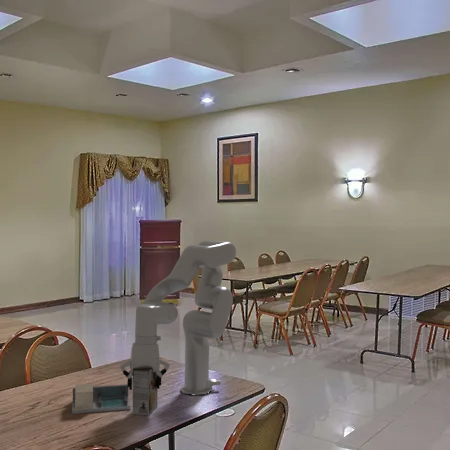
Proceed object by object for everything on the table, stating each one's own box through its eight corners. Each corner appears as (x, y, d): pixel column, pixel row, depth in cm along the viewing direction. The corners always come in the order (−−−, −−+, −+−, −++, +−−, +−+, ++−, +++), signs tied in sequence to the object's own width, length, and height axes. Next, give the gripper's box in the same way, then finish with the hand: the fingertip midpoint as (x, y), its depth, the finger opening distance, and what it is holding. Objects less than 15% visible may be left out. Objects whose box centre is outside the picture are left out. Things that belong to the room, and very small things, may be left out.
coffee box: (140, 405, 197) (141, 361, 196) (157, 406, 196) (158, 362, 195) (131, 414, 188) (132, 368, 187) (149, 416, 187) (150, 369, 186)
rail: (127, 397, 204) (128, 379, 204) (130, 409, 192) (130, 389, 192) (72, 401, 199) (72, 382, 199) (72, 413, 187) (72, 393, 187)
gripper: (168, 337, 197) (167, 384, 197) (120, 338, 192) (118, 386, 192) (171, 341, 189) (170, 390, 190) (121, 343, 185) (120, 392, 185)
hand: (144, 388), depth 191 cm, fingers open, 9 cm apart
